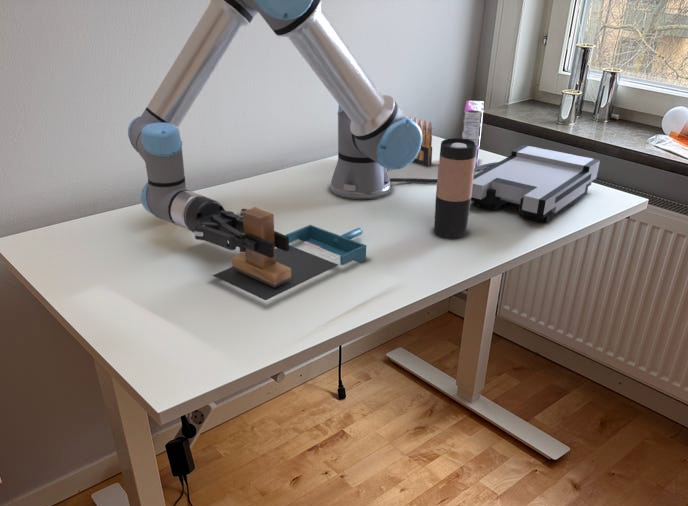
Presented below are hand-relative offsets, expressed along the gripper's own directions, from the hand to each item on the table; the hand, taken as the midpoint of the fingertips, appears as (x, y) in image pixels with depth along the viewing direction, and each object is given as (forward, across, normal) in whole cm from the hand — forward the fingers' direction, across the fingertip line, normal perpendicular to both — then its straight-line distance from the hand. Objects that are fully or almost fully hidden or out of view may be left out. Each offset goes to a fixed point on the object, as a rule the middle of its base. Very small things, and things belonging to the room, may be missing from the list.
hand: (279, 247), depth 128 cm
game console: (+10, -76, -9) cm, 77 cm away
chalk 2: (-2, -16, -8) cm, 18 cm away
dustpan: (-5, -22, -9) cm, 25 cm away
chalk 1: (-8, -17, -8) cm, 21 cm away
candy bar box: (-16, -88, -9) cm, 90 cm away
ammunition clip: (-29, -81, -9) cm, 87 cm away
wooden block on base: (-5, 0, -7) cm, 9 cm away
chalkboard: (-5, -4, -9) cm, 11 cm away
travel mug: (+7, -46, -9) cm, 47 cm away
